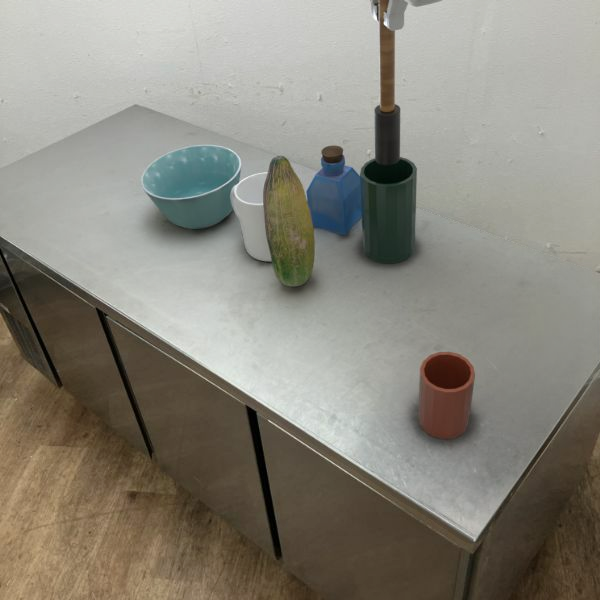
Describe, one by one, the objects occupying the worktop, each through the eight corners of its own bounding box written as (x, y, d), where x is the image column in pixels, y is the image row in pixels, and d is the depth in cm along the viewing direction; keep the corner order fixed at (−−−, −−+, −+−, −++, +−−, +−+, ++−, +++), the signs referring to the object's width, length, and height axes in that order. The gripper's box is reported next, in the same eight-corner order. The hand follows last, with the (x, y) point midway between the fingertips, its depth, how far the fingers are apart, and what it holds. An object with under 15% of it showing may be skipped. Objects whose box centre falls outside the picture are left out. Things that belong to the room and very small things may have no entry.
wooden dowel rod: (404, 161, 83) (407, -21, 69) (381, 167, 83) (379, -14, 68) (393, 150, 86) (393, -28, 71) (371, 156, 85) (366, -22, 70)
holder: (478, 428, 70) (485, 381, 65) (433, 446, 69) (436, 399, 64) (452, 393, 74) (457, 345, 68) (409, 409, 73) (411, 361, 67)
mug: (218, 239, 100) (205, 182, 93) (257, 214, 104) (247, 158, 97) (271, 270, 93) (261, 211, 86) (311, 242, 97) (305, 184, 90)
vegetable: (326, 277, 91) (315, 151, 77) (307, 306, 87) (291, 178, 73) (288, 268, 93) (270, 144, 80) (267, 295, 89) (245, 170, 76)
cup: (424, 254, 92) (427, 176, 84) (376, 269, 91) (374, 191, 82) (400, 226, 98) (401, 150, 89) (355, 241, 96) (351, 164, 87)
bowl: (138, 239, 102) (123, 195, 96) (175, 184, 113) (163, 142, 107) (231, 246, 98) (222, 201, 93) (260, 188, 109) (253, 145, 104)
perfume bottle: (364, 213, 101) (361, 144, 93) (344, 235, 97) (340, 166, 89) (330, 204, 104) (324, 136, 96) (309, 225, 100) (302, 157, 92)
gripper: (471, -109, 57) (460, 48, 66) (372, -140, 71) (374, -7, 80) (406, -96, 55) (404, 62, 65) (319, -130, 70) (327, 3, 79)
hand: (387, 23), depth 73 cm, fingers closed on wooden dowel rod, 2 cm apart
